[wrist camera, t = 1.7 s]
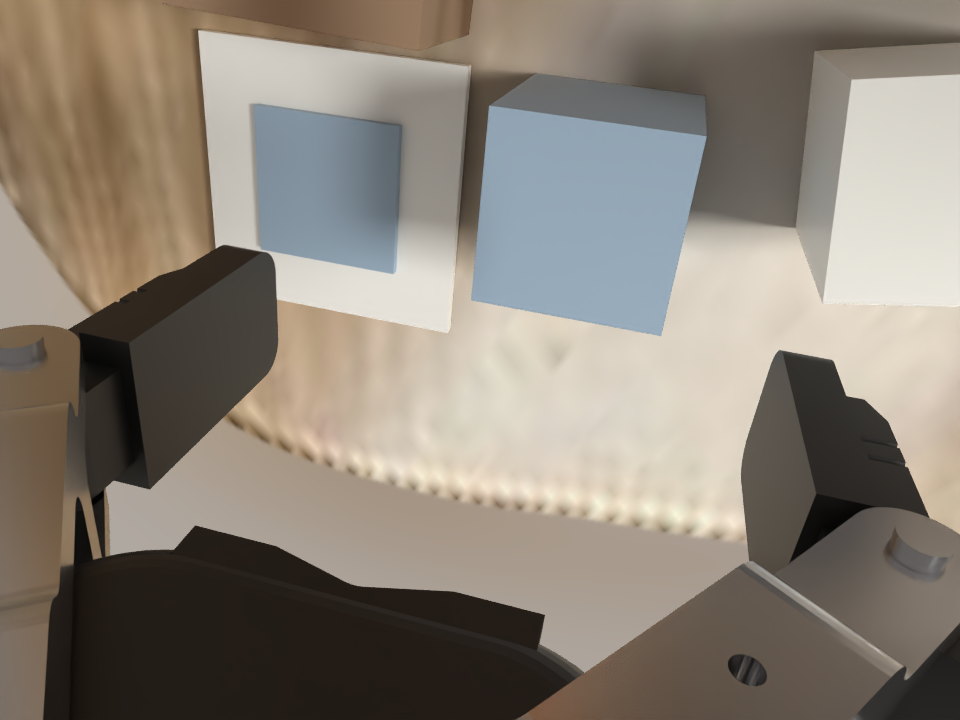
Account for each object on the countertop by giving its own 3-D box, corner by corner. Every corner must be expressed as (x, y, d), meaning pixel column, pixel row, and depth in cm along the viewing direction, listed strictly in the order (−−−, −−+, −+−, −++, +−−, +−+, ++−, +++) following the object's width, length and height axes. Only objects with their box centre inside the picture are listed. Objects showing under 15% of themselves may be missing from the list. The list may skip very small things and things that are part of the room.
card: (471, 64, 23) (465, 67, 23) (450, 328, 28) (444, 336, 27) (205, 29, 25) (192, 31, 24) (224, 283, 29) (214, 290, 29)
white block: (1023, 38, 20) (1139, 65, 14) (982, 226, 22) (1069, 308, 17) (814, 50, 21) (851, 79, 16) (795, 227, 23) (822, 303, 18)
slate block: (704, 95, 22) (706, 136, 17) (668, 257, 25) (660, 335, 19) (536, 73, 23) (488, 105, 18) (517, 231, 25) (471, 300, 20)
